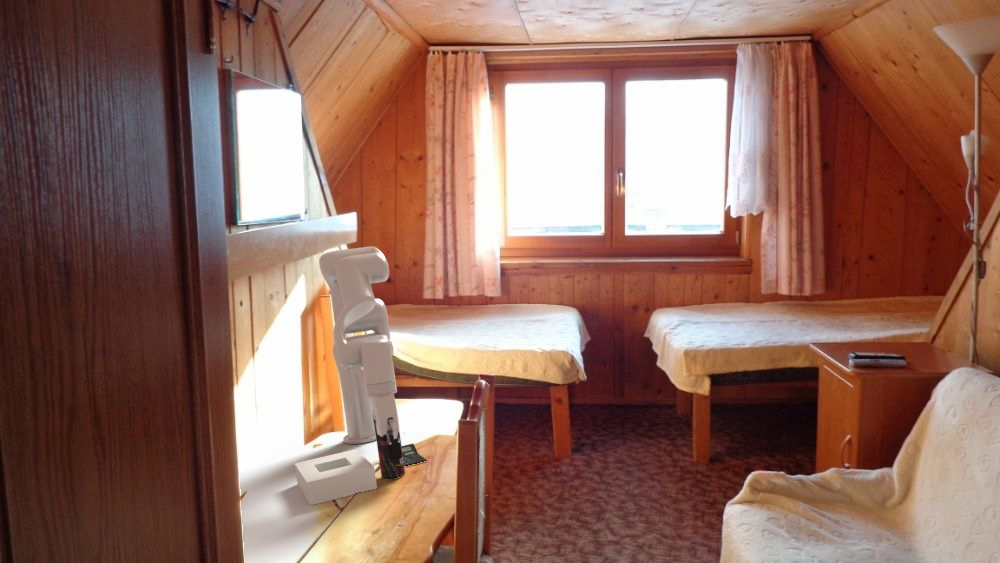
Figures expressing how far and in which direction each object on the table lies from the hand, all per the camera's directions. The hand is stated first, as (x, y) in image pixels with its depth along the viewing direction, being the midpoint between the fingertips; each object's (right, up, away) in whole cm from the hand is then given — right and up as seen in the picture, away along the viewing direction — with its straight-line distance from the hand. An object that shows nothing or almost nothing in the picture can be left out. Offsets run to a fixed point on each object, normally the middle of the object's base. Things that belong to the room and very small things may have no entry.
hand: (390, 455), depth 196 cm
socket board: (-13, -7, -2) cm, 15 cm away
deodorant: (+1, -6, +1) cm, 6 cm away
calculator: (+2, -5, +13) cm, 14 cm away
